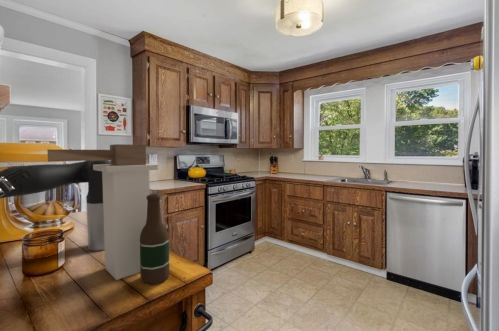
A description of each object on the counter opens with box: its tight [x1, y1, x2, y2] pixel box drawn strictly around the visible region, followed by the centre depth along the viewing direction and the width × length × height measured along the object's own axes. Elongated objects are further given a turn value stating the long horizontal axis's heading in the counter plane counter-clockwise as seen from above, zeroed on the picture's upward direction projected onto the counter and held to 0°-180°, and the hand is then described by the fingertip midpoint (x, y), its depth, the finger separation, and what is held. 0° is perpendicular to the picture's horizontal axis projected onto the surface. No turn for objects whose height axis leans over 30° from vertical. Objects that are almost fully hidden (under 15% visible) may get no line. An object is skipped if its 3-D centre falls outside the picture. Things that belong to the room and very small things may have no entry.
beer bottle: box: [139, 193, 170, 286], centre depth 72 cm, size 8×8×24 cm
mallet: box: [47, 143, 147, 166], centre depth 72 cm, size 8×23×6 cm, turn 131°
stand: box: [93, 163, 159, 281], centre depth 78 cm, size 13×14×32 cm
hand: (27, 172), depth 61 cm, fingers open, 8 cm apart
